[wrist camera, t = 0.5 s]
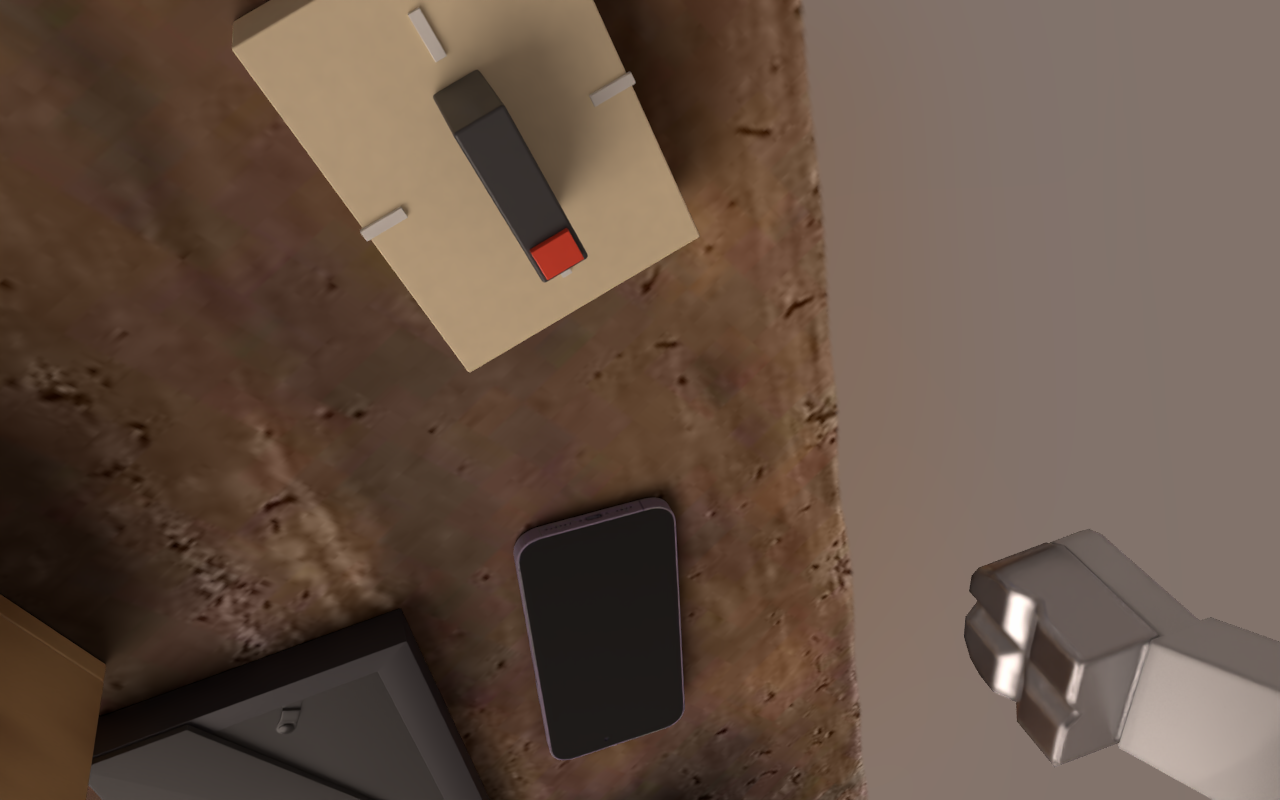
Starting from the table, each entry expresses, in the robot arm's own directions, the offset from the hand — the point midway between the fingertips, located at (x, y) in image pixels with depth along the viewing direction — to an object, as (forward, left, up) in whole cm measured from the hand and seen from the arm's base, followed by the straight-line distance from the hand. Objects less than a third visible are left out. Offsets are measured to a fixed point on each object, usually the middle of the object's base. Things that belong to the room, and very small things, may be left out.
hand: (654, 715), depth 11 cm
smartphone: (+26, -5, -24) cm, 36 cm away
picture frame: (+25, -20, -24) cm, 40 cm away
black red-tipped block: (+2, +2, -21) cm, 21 cm away
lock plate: (+2, +2, -24) cm, 24 cm away
